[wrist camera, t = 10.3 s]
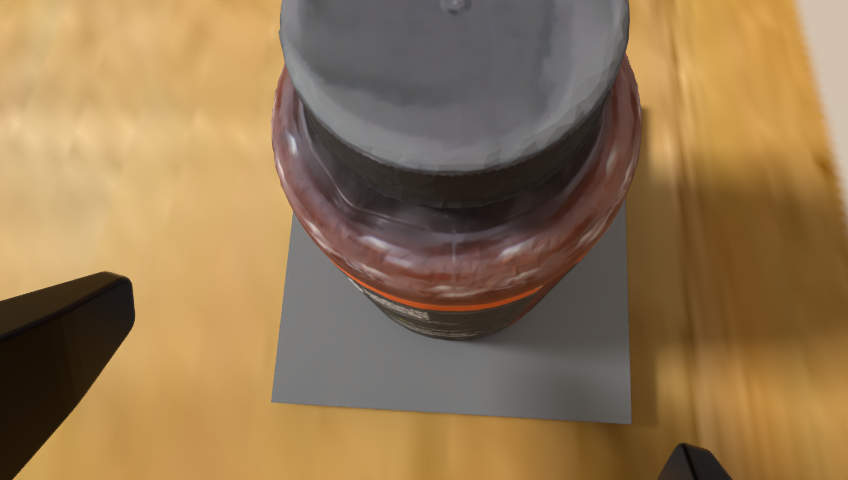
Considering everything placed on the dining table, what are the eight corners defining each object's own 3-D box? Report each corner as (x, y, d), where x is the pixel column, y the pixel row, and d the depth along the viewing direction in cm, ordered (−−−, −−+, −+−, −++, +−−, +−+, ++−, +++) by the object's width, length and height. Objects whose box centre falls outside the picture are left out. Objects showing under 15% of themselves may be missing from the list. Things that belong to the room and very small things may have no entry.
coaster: (621, 422, 17) (631, 424, 16) (281, 401, 17) (271, 402, 17) (613, 106, 19) (622, 91, 18) (315, 96, 20) (308, 81, 19)
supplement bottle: (532, 135, 18) (660, -250, 7) (575, 325, 17) (816, 212, 6) (342, 166, 18) (178, -169, 7) (368, 359, 17) (211, 311, 6)
